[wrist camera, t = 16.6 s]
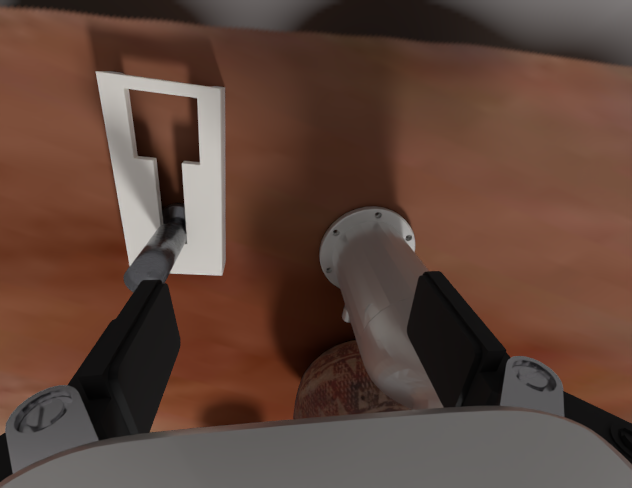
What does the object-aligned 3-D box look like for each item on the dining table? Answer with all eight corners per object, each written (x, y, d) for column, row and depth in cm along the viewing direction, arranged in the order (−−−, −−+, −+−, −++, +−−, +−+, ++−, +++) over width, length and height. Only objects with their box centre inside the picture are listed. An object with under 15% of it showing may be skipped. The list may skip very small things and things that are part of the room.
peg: (201, 238, 37) (174, 302, 27) (162, 236, 37) (118, 301, 26) (200, 204, 35) (169, 260, 25) (159, 201, 35) (109, 257, 24)
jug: (265, 357, 48) (258, 588, 27) (386, 297, 45) (489, 504, 24) (329, 422, 59) (361, 626, 37) (431, 378, 56) (530, 571, 34)
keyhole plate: (225, 262, 39) (222, 275, 37) (140, 257, 38) (130, 271, 35) (225, 87, 30) (220, 88, 27) (112, 71, 28) (95, 71, 26)
